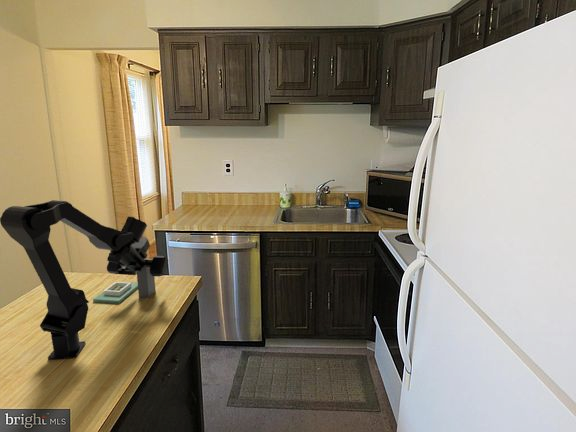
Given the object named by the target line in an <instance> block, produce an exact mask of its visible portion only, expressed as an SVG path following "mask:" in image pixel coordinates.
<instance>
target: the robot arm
mask: <svg viewBox="0 0 576 432" xmlns="http://www.w3.org/2000/svg"><path fill="white" fill-rule="evenodd" d="M59 222H62V223H63V224H65V225H67V226H69V227H70V228H72V229H73V230H75V231H77V232H79V233H81V234H82V235H84V236H86V237H87V239H88V241H89V242H90V243H91V244H92V245H93V246H94V247H95V248H96V249H99V250H105V251H106V250H107V251H109V253H108V256H107V262H108V263H107V265H106V271H107V272H108V273H109V274H114V275H123V276H129V275H130V276H137V272H141V269H142V268H143V267H150V274H151V275H152V276H154V277H163V276H165V274H166V270H167V265H168V262H169V259H168V258H167V257H166V255H154V256H153V258H152V259H153V260H145V259H148V254H147V252H148V250H149V248H151V244H150V242H149V239H148V238H147V237H143V235H144V233H145V230H146V229H147V227H148V225H147V223H146V222H145V221H143V220H140V219H138V218H135V216H127V218H126V220H125V223H124V224H123V226H122V228H121V229H120V230H118V229H116V228H113V227H110V226H105V225H103V224H100V222H98V221H96V220H95V219H94V218H92V217H90V216H89V215H87V214H85V213H84V212H82V211H81V210H79V209H77V208H76V207H74V206H73V205H72V204H71V203H70V202H69V201H67V200H57V199H56V200H55V199H54V200H49V201H46V202H43V203H36V204H30V205H25V206H20V205H12V206H9V207H7V208H6V209H4V211H3V212H2V214H1V217H0V224H1V227H2V228H3V230H4V231H5V232H6V233H7V234H8V236H9V237H10V238H12V239H13V240H14V241H15V242H17V243H18V244H19V245H20V246H22V247H23V249H24V251H25V253H26V254H27V257H28V259H29V261H30V263H31V264H32V267H33V269H34V271H35V272H36V274H37V276H38V278H39V279H40V282H41V283H42V286H43V288H44V290H45V291H46V294H47V300H46V309H47V312H46V314H45V316H44V318H43V320H42V321H41V322H40V325H39V327H40V329H41V330H42V332H47V333H50V336H51V343H52V351H51V353H50V354H49V355H48V357H47V359H48V360H49V361H50V360H60V359H61V360H62V359H73V358H76V357H78V356H79V354H80V352H81V351H82V349H83V348H84V346H85V345H86V341H85V340H84V341H80V336H79V332H81V331H82V330H84V329H85V327H86V324H87V323H86V322H87V317H88V311H89V305H88V304H89V302H90V301H89V300H88V299H87V298H86V295H85V292H84V291H83V289H79V288H73V287H71V284H70V283H69V281H68V278H67V277H66V274H65V272H64V270H63V268H62V266H61V264H60V262H59V260H58V258H57V255H56V254H55V251H54V248H53V247H52V244H51V243H50V235H51V226H53V225H56V224H58V223H59Z"/></svg>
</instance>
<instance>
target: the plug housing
mask: <svg viewBox="0 0 576 432" xmlns="http://www.w3.org/2000/svg"><path fill="white" fill-rule="evenodd" d="M145 260H153V258H145ZM136 281H137V282H136V283H138V288H137V291H138V293H137V294H138V297H139V298H146V299H148V298H150V297H151V296H152V295H153V294H154V293H156V281H155V276H152V275H151V274H150V267H143V268H142V269H141V272H136Z"/></svg>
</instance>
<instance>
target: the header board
mask: <svg viewBox="0 0 576 432" xmlns="http://www.w3.org/2000/svg"><path fill="white" fill-rule="evenodd" d="M136 290H138V282H130V281H129V282H127V281H114V283H112V284H111V285H109V286H108V287H107V288H105V289H104V290H103V291H102V292H101V293H100V294H98V295H96V296H95V297H94V298H92V302H93V303H104V304H121V303H122V302H124V300H125V299H127V298H128V297H129V296H131V294H133V293H134V292H135V291H136Z"/></svg>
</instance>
